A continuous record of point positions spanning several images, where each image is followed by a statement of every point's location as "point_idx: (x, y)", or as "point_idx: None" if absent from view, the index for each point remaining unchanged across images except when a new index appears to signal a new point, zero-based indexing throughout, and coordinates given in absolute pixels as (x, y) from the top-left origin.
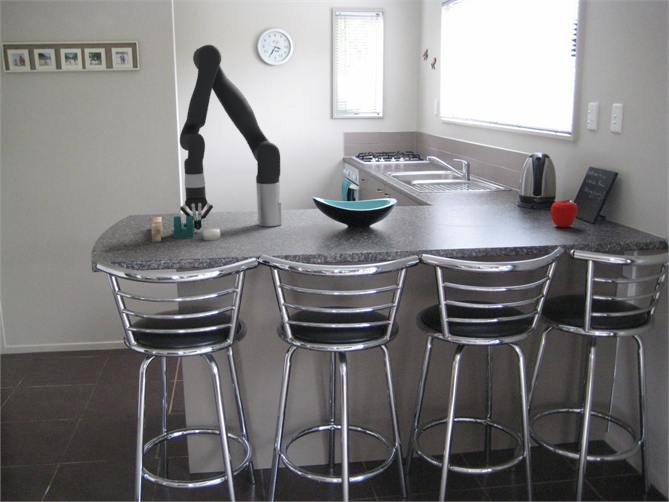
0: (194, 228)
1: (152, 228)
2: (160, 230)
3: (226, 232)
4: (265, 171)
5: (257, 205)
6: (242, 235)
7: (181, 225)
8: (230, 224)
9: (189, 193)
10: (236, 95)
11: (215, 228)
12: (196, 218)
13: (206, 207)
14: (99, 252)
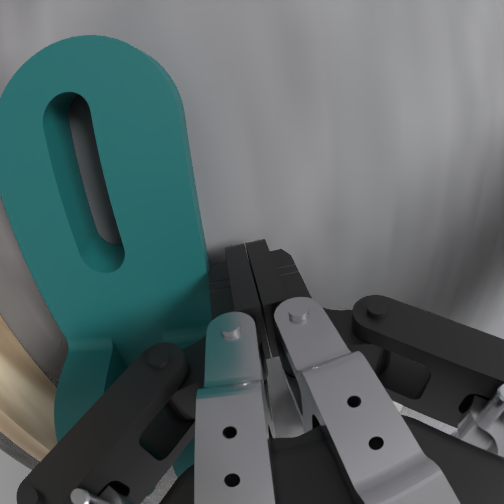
0: (195, 198)
1: (35, 457)
2: (52, 432)
3: (442, 262)
4: None
5: None
6: (474, 319)
7: (38, 192)
8: (477, 2)
9: None
10: None
11: None
12: (266, 386)
13: (462, 439)
14: (14, 457)
